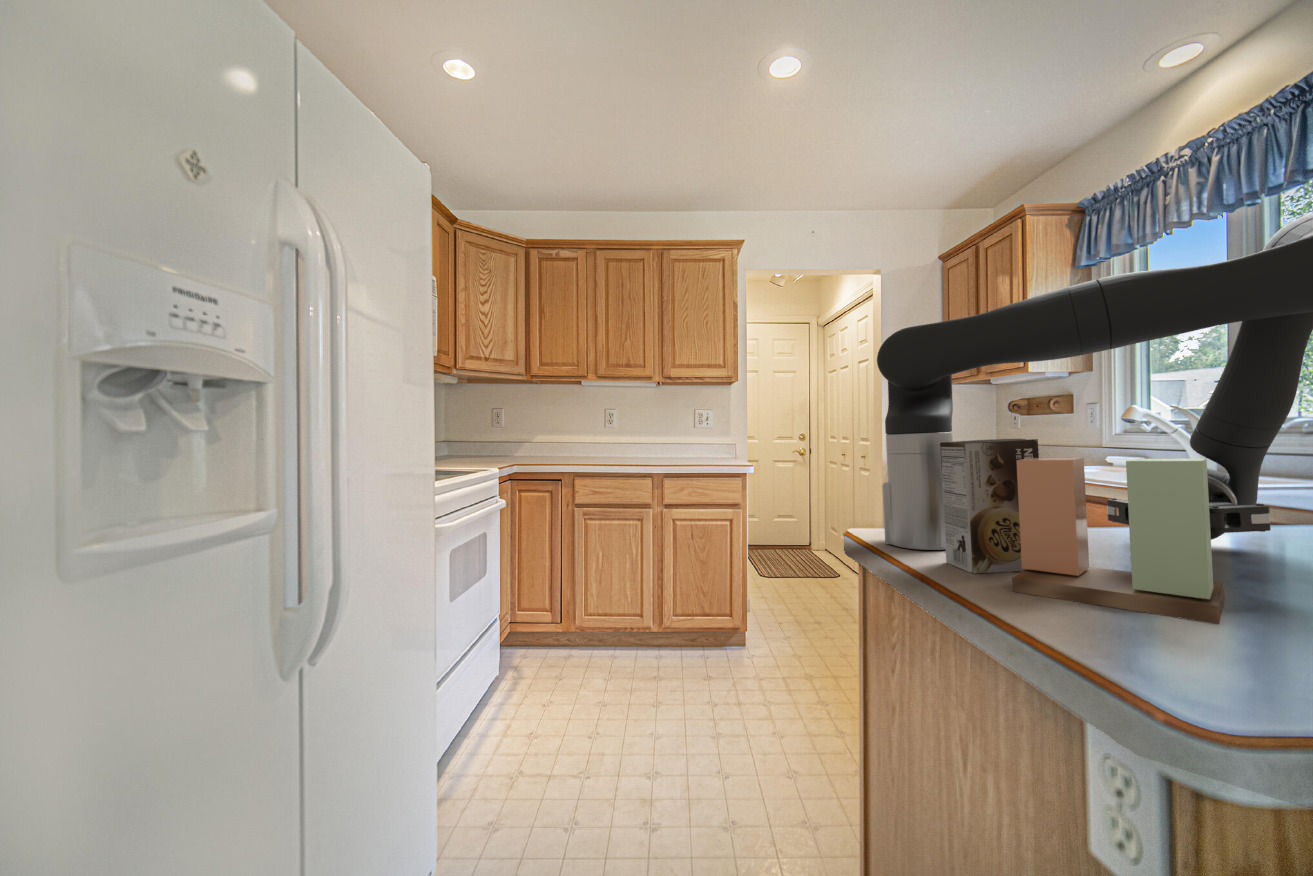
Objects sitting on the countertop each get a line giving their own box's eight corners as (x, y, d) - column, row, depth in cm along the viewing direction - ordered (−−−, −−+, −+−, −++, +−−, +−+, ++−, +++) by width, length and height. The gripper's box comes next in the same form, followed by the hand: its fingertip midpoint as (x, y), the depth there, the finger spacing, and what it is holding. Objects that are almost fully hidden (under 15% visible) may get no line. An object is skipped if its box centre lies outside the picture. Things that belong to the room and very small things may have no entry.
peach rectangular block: (1021, 568, 58) (1016, 460, 58) (1034, 560, 62) (1029, 458, 62) (1078, 575, 55) (1072, 460, 55) (1089, 567, 58) (1083, 457, 58)
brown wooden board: (1012, 591, 56) (1012, 577, 56) (1039, 573, 63) (1038, 561, 63) (1218, 624, 45) (1217, 606, 45) (1224, 598, 51) (1223, 582, 51)
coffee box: (1012, 560, 70) (1006, 438, 70) (1048, 571, 63) (1041, 437, 64) (943, 562, 70) (937, 441, 70) (971, 574, 64) (965, 440, 64)
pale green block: (1132, 589, 49) (1125, 461, 50) (1140, 578, 53) (1134, 458, 53) (1209, 599, 46) (1202, 460, 46) (1213, 587, 49) (1206, 458, 49)
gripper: (1277, 543, 57) (1281, 573, 46) (1117, 531, 67) (1087, 553, 56) (1273, 474, 57) (1276, 487, 46) (1114, 472, 67) (1084, 483, 56)
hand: (1172, 523), depth 51 cm, fingers closed
